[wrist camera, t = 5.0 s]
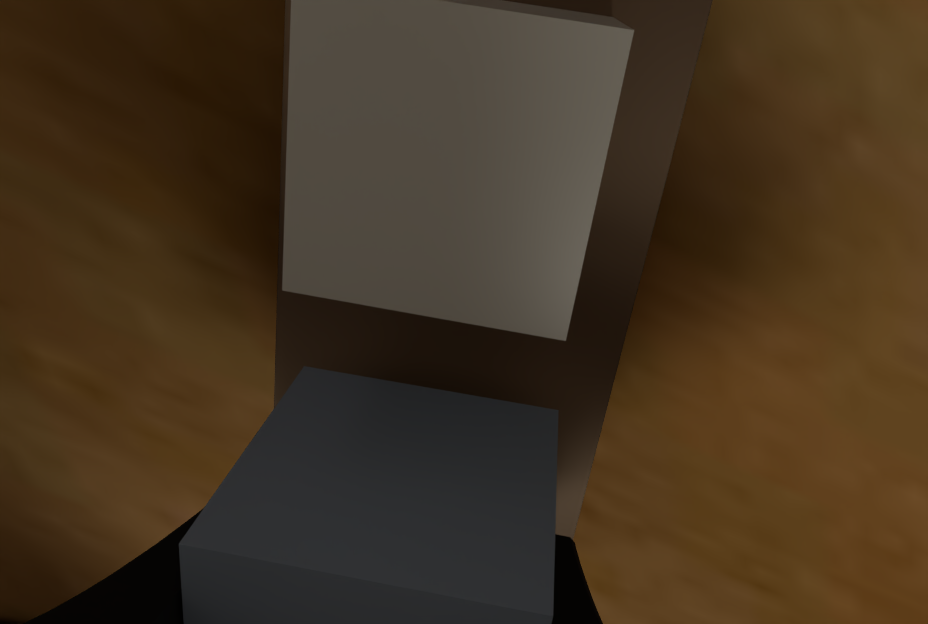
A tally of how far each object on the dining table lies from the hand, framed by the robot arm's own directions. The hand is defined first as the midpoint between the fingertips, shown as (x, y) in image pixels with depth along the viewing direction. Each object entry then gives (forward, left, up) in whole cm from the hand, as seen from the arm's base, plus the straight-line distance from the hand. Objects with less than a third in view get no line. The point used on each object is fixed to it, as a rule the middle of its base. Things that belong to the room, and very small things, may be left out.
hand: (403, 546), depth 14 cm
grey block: (+8, 0, -3) cm, 8 cm away
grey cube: (0, 0, -2) cm, 2 cm away
